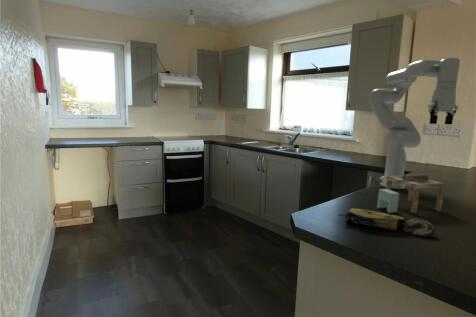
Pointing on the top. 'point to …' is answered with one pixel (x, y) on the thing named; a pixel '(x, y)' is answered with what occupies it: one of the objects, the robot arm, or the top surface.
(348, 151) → the top surface
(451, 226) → the top surface
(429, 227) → the pulley block
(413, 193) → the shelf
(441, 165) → the top surface
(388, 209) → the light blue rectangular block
